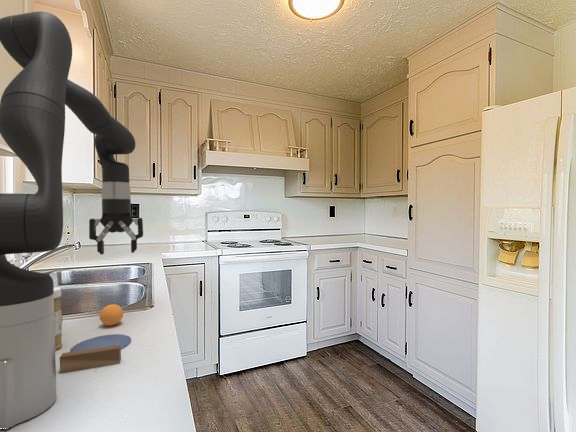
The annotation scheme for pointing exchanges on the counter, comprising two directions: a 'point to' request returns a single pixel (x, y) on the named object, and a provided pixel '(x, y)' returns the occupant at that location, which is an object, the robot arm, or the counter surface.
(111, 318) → the ball
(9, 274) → the robot arm
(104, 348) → the stopper wall
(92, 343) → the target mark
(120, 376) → the counter surface
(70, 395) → the counter surface
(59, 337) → the sprinkles bottle
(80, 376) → the counter surface
